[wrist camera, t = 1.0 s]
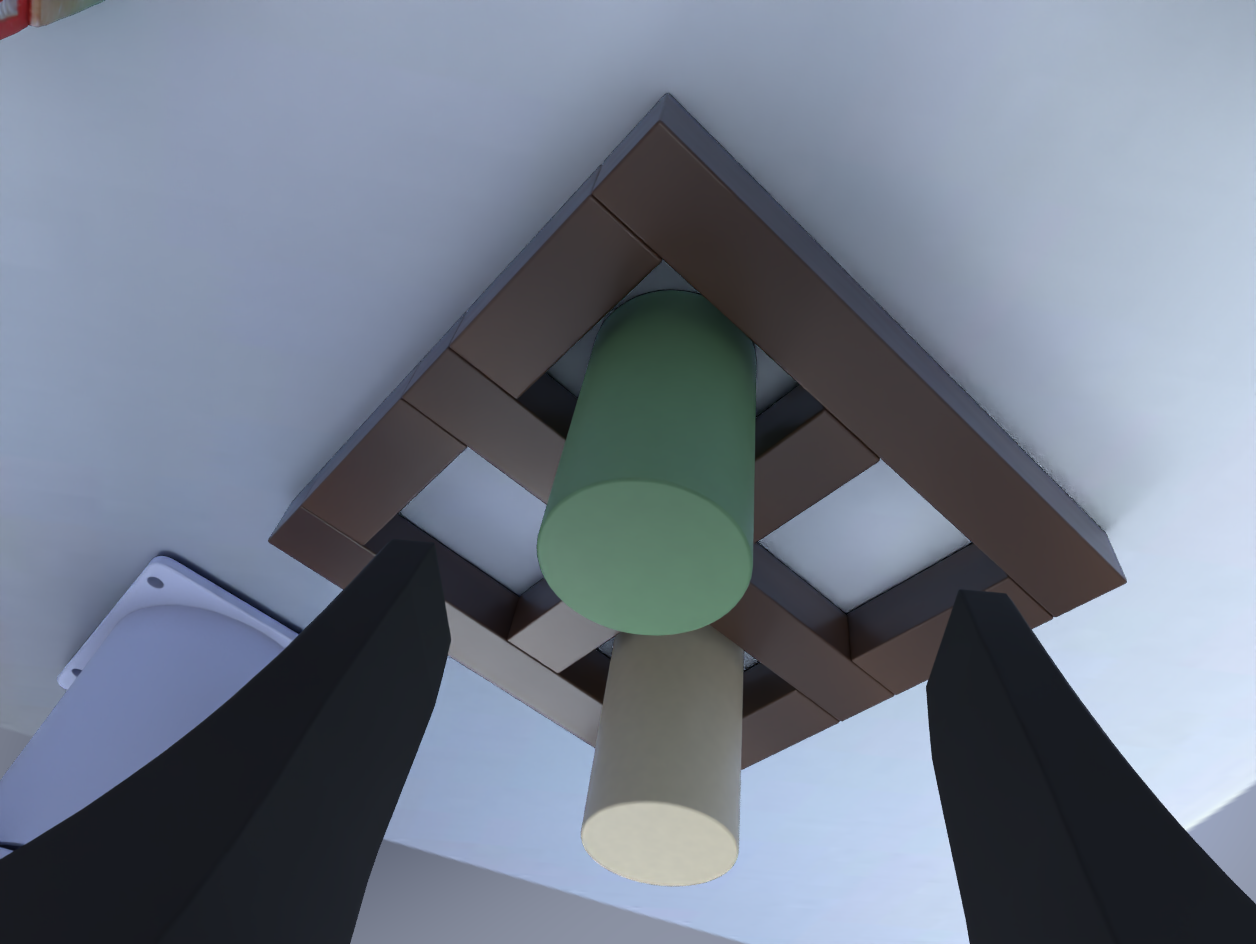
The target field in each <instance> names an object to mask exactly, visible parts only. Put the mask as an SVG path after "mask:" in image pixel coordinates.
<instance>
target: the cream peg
mask: <svg viewBox="0 0 1256 944" xmlns="http://www.w3.org/2000/svg"><path fill="white" fill-rule="evenodd" d="M743 669H744V650H743V649H742V648H740V647H739V646H737V645H736V644H735V643H733V642H732V641H731V640H729V639H728V638H727V637H725V636H724V635H723V634H721V633H720V632H719V631H717V630H716V629H714V628H713V627H712V626H710V625H707V626H704V627H702V628H699V629H696V630H692V631H689V632H685V633H679V634H674V635H661V636H656V635H639V634H631V633H626V632H621V633H619V634H617V635H616V636H615V637H614V643H613V649H612V654H611V660H610V666H609V672H608V678H607V683H606V689H605V695H604V701H603V707H602V712H601V718H600V724H599V730H598V736H597V741H596V747H595V753H594V759H593V765H592V770H591V776H590V782H589V788H588V794H587V799H586V805H585V811H584V817H583V823H582V828H581V839H582V843H583V846H584V848H585V850H586V851H587V853H588V854H589V855H590V857H591V858H592V859H593V860H594V861H596V862H597V863H598V864H599V865H601V866H602V867H604V868H605V869H607V870H609V871H611V872H613V873H615V874H617V875H619V876H622V877H624V878H627V879H630V880H633V881H637V882H641V883H646V884H651V885H659V886H690V885H696V884H701V883H705V882H708V881H711V880H714V879H716V878H718V877H720V876H722V875H724V874H725V873H727V872H728V871H729V870H730V869H731V868H732V867H733V865H734V864H735V862H736V860H737V858H738V853H739V824H740V785H741V746H742V708H743Z"/></svg>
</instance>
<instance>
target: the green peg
mask: <svg viewBox="0 0 1256 944" xmlns="http://www.w3.org/2000/svg"><path fill="white" fill-rule="evenodd" d="M755 418H756V354H755V349H754V346H753V343H752V340H751V339H750V338H749V337H747V336H746V335H745V334H744V333H743V332H742V331H741V330H740V329H739V328H738V327H736V326H735V325H734V324H733V323H732V322H731V321H730V320H729V319H728V318H727V317H726V316H724V315H723V314H722V313H721V312H720V311H719V310H718V309H717V308H716V307H715V306H714V305H712V304H711V303H710V302H709V301H708V300H707V299H706V298H705V297H704V296H702V295H699V294H696V293H691V292H686V291H676V290H666V291H657V292H651V293H647V294H644V295H641V296H638V297H636V298H634V299H631V300H629V301H628V302H626V303H624V304H623V305H621V306H620V307H618V308H617V309H616V310H615V311H614V312H612V313H611V315H610V316H609V317H608V318H607V319H606V320H605V322H604V323H603V325H602V326H601V328H600V330H599V332H598V334H597V336H596V339H595V342H594V346H593V349H592V352H591V356H590V359H589V363H588V366H587V370H586V373H585V376H584V380H583V383H582V387H581V390H580V393H579V397H578V400H577V404H576V407H575V411H574V414H573V417H572V421H571V424H570V428H569V431H568V434H567V438H566V441H565V445H564V448H563V451H562V455H561V458H560V462H559V465H558V469H557V472H556V475H555V479H554V482H553V486H552V489H551V492H550V496H549V499H548V503H547V506H546V510H545V513H544V516H543V520H542V523H541V527H540V530H539V533H538V538H537V557H538V561H539V565H540V568H541V571H542V573H543V576H544V578H545V580H546V581H547V583H548V585H549V586H550V588H551V589H552V590H553V591H554V593H555V594H556V595H557V596H558V597H559V598H560V599H561V600H562V601H563V602H564V603H565V604H566V605H567V606H569V607H570V608H571V609H573V610H574V611H575V612H577V613H578V614H580V615H582V616H583V617H585V618H587V619H589V620H591V621H593V622H595V623H597V624H600V625H602V626H605V627H607V628H610V629H614V630H617V631H621V632H626V633H631V634H639V635H656V636H661V635H674V634H679V633H685V632H689V631H692V630H696V629H699V628H702V627H704V626H707V625H709V624H711V623H713V622H715V621H716V620H718V619H720V618H721V617H723V616H724V615H725V614H727V613H728V612H729V611H730V610H731V609H732V608H733V607H734V606H736V604H737V603H738V602H739V601H740V599H741V598H742V597H743V595H744V593H745V591H746V590H747V588H748V586H749V583H750V580H751V576H752V569H753V533H754V476H755Z"/></svg>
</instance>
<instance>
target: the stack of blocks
mask: <svg viewBox="0 0 1256 944" xmlns="http://www.w3.org/2000/svg"><path fill="white" fill-rule="evenodd" d="M103 1H105V0H0V40H1V39H4V38H6V37H8V36H11V35H13V34H15V33H17V32H19V31H21V30H22V29H24V28H26V27H27V26H28V25H30V26H34V27H41V26H45V25H48V24H51V23H53V22H55V21H58V20H60V19H63V18H66V17H68V16H71V15H74V14H76V13H78V12H80V11H83V10H85V9H87V8H89V7H91V6H93V5H96V4H98V3H101V2H103Z"/></svg>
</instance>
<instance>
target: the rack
mask: <svg viewBox="0 0 1256 944" xmlns="http://www.w3.org/2000/svg"><path fill="white" fill-rule="evenodd" d="M662 259H663V260H664V261H665V262H667V263H668V264H669V265H670V266H671V267H672V268H673V269H674V270H675V271H676V272H678V273H679V274H680V275H681V276H682V277H683V278H684V279H685V280H686V281H687V282H688V283H690V284H691V285H692V286H693V287H694V288H695V289H696V290H697V291H698V292H699V293H700V294H702V295H703V296H704V297H705V298H706V299H707V300H708V301H709V302H710V303H711V304H712V305H714V306H715V307H716V308H717V309H718V310H719V311H720V312H721V313H722V314H723V315H724V316H726V317H727V318H728V319H729V320H730V321H731V322H732V323H733V324H734V325H735V326H736V327H738V328H739V329H740V330H741V331H742V332H743V333H744V334H745V335H746V336H747V337H749V338H750V339H751V340H752V341H753V342H754V343H755V344H756V345H757V346H758V347H759V348H761V349H762V350H763V351H764V352H765V353H766V354H767V355H768V356H769V357H770V358H771V359H773V360H774V361H775V362H776V363H777V364H778V365H779V366H780V367H781V368H782V369H783V370H785V371H786V372H787V373H788V374H789V375H790V376H791V377H792V378H793V379H794V380H795V381H797V382H798V383H799V384H800V385H799V386H797V387H796V388H795V389H793V390H792V391H791V392H789V393H788V394H787V395H786V396H784V397H783V398H782V399H780V400H779V401H778V402H776V403H775V404H774V405H772V406H771V407H770V408H768V409H767V410H766V411H764V412H763V413H762V414H760V415H759V416H758V417H756V418H755V476H754V533H753V569H752V576H751V580H750V583H749V586H748V588H747V590H746V591H745V593H744V595H743V597H742V598H741V599H740V601H739V602H738V603H737V604H736V606H734V607H733V608H732V609H731V610H730V611H729V612H728V613H727V614H725V615H724V616H723V617H721V618H720V619H718V620H716V621H715V622H713V623H711V624H709V625H710V626H712V627H713V628H714V629H716V630H717V631H719V632H720V633H721V634H723V635H724V636H725V637H727V638H728V639H729V640H731V641H732V642H733V643H735V644H736V645H737V646H739V647H740V648H742V649H743V650H744V651H746V652H747V653H748V654H750V655H751V656H752V657H754V658H755V659H756V660H758V661H759V662H761V663H760V664H758V665H756V666H754V667H753V668H751V669H749V670H747V671H745V672H744V673H743V708H742V746H741V770H743V769H745V768H747V767H749V766H751V765H753V764H755V763H757V762H759V761H761V760H763V759H765V758H767V757H769V756H771V755H773V754H776V753H778V752H780V751H782V750H784V749H786V748H788V747H790V746H792V745H794V744H796V743H798V742H800V741H802V740H804V739H806V738H808V737H811V736H813V735H815V734H817V733H819V732H821V731H823V730H825V729H827V728H829V727H831V726H833V725H835V724H837V723H839V721H844V720H846V719H848V718H850V717H852V716H854V715H856V714H858V713H860V712H862V711H864V710H866V709H868V708H871V707H873V706H875V705H877V704H879V703H881V702H883V701H885V700H887V699H889V698H891V697H893V696H894V695H897V694H899V693H902V692H904V691H906V690H908V689H910V688H912V687H914V686H916V685H918V684H920V683H922V682H924V681H926V680H928V679H929V676H930V673H931V670H932V668H933V665H934V662H935V659H936V656H937V653H938V650H939V647H940V644H941V641H942V638H943V635H944V632H945V629H946V626H947V623H948V620H949V617H950V614H951V611H952V608H953V605H954V602H955V599H956V596H957V593H958V590H959V589H964V590H975V591H986V592H998V593H1006V594H1007V595H1008V596H1009V597H1010V599H1011V600H1012V601H1013V603H1014V604H1015V606H1016V607H1017V609H1018V610H1019V612H1020V613H1021V615H1022V616H1023V618H1024V619H1025V621H1026V622H1027V624H1028V625H1029V627H1030V628H1031V629H1033V628H1035V627H1037V626H1040V625H1042V624H1044V623H1046V622H1048V621H1050V620H1052V619H1053V617H1058V616H1060V615H1062V614H1064V613H1066V612H1068V611H1070V610H1072V609H1074V608H1076V607H1078V606H1080V605H1082V604H1085V603H1087V602H1089V601H1091V600H1093V599H1095V598H1097V597H1099V596H1101V595H1103V594H1105V593H1107V592H1109V591H1111V590H1113V589H1115V588H1117V587H1120V586H1122V585H1124V584H1126V583H1127V580H1126V577H1125V575H1124V573H1123V571H1122V568H1121V566H1120V564H1119V561H1118V559H1117V557H1116V554H1115V552H1114V550H1113V548H1112V545H1111V543H1110V541H1109V538H1108V536H1107V534H1106V533H1105V532H1104V531H1103V530H1102V529H1101V528H1100V527H1099V526H1098V525H1097V524H1096V523H1095V522H1094V521H1093V520H1092V519H1091V518H1090V517H1089V516H1088V515H1087V514H1086V513H1085V512H1084V511H1083V510H1082V509H1081V508H1080V507H1079V506H1078V505H1077V504H1076V503H1075V502H1074V501H1073V500H1072V499H1071V498H1070V497H1069V496H1068V495H1067V494H1066V493H1065V492H1064V491H1063V490H1062V489H1061V488H1060V487H1059V486H1058V485H1057V484H1056V483H1055V482H1054V481H1053V480H1052V479H1051V478H1050V477H1049V476H1048V475H1047V474H1046V473H1045V472H1044V471H1043V470H1042V469H1041V468H1040V467H1039V466H1038V465H1037V464H1036V463H1035V462H1034V461H1033V460H1032V459H1031V458H1030V457H1029V456H1028V455H1027V454H1026V453H1025V452H1024V451H1023V450H1022V449H1021V448H1020V447H1019V446H1018V445H1017V444H1016V443H1015V442H1014V441H1013V440H1012V439H1011V438H1010V436H1009V435H1008V434H1007V433H1006V432H1005V431H1004V430H1003V429H1002V428H1001V427H1000V426H999V425H998V424H997V423H996V422H995V421H994V420H993V419H992V418H991V417H990V416H989V415H988V414H987V413H986V412H985V411H984V410H983V409H982V408H981V407H980V406H979V405H978V404H977V403H976V402H975V401H974V400H973V399H972V398H971V397H970V396H969V395H968V394H967V393H966V392H965V391H964V390H963V389H962V388H961V387H960V386H959V385H958V384H957V383H956V382H955V381H954V380H953V379H952V378H951V377H950V376H949V375H948V374H947V373H946V372H945V371H944V370H943V369H942V368H941V367H940V366H939V365H938V364H937V363H936V362H935V361H934V360H933V359H932V358H931V357H930V356H929V355H928V354H927V353H926V352H925V351H924V350H923V349H922V348H921V347H920V346H919V345H918V344H917V343H916V342H915V341H914V340H913V339H912V338H911V337H910V336H909V335H908V334H907V333H906V332H905V331H904V330H903V329H902V328H901V327H900V326H899V325H898V324H897V323H896V322H895V321H894V320H893V319H892V318H891V317H890V316H889V315H888V314H887V313H886V312H885V311H884V310H883V309H882V308H881V307H880V306H879V305H878V304H877V302H876V301H875V300H874V299H873V298H872V297H871V296H870V295H869V294H868V293H867V292H866V291H865V290H864V289H863V288H862V287H861V286H860V285H859V284H858V283H857V282H856V281H855V280H854V279H853V278H852V277H851V276H850V275H849V274H848V273H847V272H846V271H845V270H844V269H843V268H842V267H841V266H840V265H839V264H838V263H837V262H836V261H835V260H834V259H833V258H832V257H831V256H830V255H829V254H828V253H827V252H826V251H825V250H824V249H823V248H822V247H821V246H820V245H819V244H818V243H817V242H816V241H815V240H814V239H813V238H812V237H811V236H810V235H809V234H808V233H807V232H806V231H805V230H804V229H803V228H802V227H801V226H800V225H799V224H798V223H797V222H796V221H795V220H794V219H793V218H792V217H791V216H790V215H789V214H788V213H787V212H786V211H785V210H784V209H783V208H782V207H781V206H780V205H779V204H778V203H777V202H776V201H775V200H774V199H773V198H772V197H771V196H770V195H769V194H768V193H767V192H766V191H765V190H764V189H763V188H762V187H761V186H760V185H759V184H758V183H757V182H756V181H755V180H754V179H753V178H752V177H751V176H750V175H749V174H748V173H747V172H746V171H745V170H744V168H743V167H742V166H741V165H740V164H739V163H738V162H737V161H736V160H735V159H734V158H733V157H732V156H731V155H730V154H729V153H728V152H727V151H726V150H725V149H724V148H723V147H722V146H721V145H720V144H719V143H718V142H717V141H716V140H715V139H714V138H713V137H712V136H711V135H710V134H709V133H708V132H707V131H706V130H705V129H704V128H703V127H702V126H701V125H700V124H699V123H698V122H697V121H696V120H695V119H694V118H693V117H692V116H691V115H690V114H689V113H688V112H687V111H686V110H685V109H684V108H683V107H682V106H681V105H680V104H679V103H678V102H677V101H676V100H675V99H674V98H673V97H672V96H671V95H670V94H668V93H667V94H665V95H664V96H663V97H662V98H661V99H660V101H659V102H658V103H657V104H656V105H655V106H654V107H653V108H652V109H651V110H650V112H649V113H648V114H647V115H646V116H645V117H644V118H643V119H642V120H641V121H640V122H639V124H638V125H637V126H636V127H635V128H634V129H633V130H632V131H631V132H630V133H629V134H628V136H627V137H626V138H625V139H624V140H623V141H622V142H621V143H620V144H619V145H618V146H617V148H616V149H615V150H614V151H613V152H612V153H611V154H610V155H609V156H608V157H607V158H606V160H605V161H604V163H603V165H600V166H599V167H598V168H597V169H596V170H595V172H594V173H593V174H592V175H591V176H590V177H589V178H588V179H587V180H586V181H585V182H584V184H583V185H582V186H581V187H580V188H579V189H578V190H577V191H576V192H575V193H574V195H573V196H572V197H571V198H570V199H569V200H568V201H567V202H566V203H565V204H564V205H563V207H562V208H561V209H560V210H559V211H558V212H557V213H556V214H555V215H554V216H553V217H552V219H551V220H550V221H549V222H548V223H547V224H546V225H545V226H544V227H543V228H542V229H541V231H540V232H539V233H538V234H537V235H536V236H535V237H534V238H533V239H532V240H531V241H530V243H529V244H528V245H527V246H526V247H525V248H524V249H523V250H522V251H521V252H520V253H519V255H518V256H517V257H516V258H515V259H514V260H513V261H512V262H511V263H510V264H509V265H508V267H507V268H506V269H505V270H504V271H503V272H502V273H501V274H500V275H499V276H498V277H497V279H496V280H495V281H494V282H493V283H492V284H491V285H490V286H489V287H488V288H487V289H486V291H485V292H484V293H483V294H482V295H481V296H480V297H479V298H478V299H477V300H476V301H475V303H474V304H473V305H472V306H471V307H470V308H469V309H468V311H467V312H465V313H464V314H463V316H462V317H461V318H460V319H459V320H458V321H457V322H456V323H455V324H454V325H453V326H452V328H451V329H450V330H449V331H448V332H447V333H446V334H445V335H444V336H443V337H442V339H441V340H440V341H439V342H438V343H437V344H436V345H435V346H434V347H433V348H432V349H431V351H430V352H429V353H428V354H427V355H426V356H425V357H424V358H423V360H422V361H420V362H419V364H418V365H417V366H416V367H415V368H414V369H413V370H412V371H411V372H410V373H409V374H408V376H407V377H406V378H405V379H404V380H403V381H402V382H401V383H400V384H399V385H398V386H397V388H396V389H395V390H394V391H393V392H392V393H391V394H390V395H389V396H388V397H387V398H386V400H385V401H384V402H383V403H382V404H381V405H380V406H379V407H378V408H377V409H376V410H375V412H374V413H373V414H372V415H371V416H370V417H369V418H368V419H367V420H366V421H365V422H364V424H363V425H362V426H361V427H360V428H359V429H358V430H357V431H356V432H355V433H354V434H353V436H352V437H351V438H350V439H349V440H348V441H347V442H346V443H345V444H344V445H343V446H342V448H341V449H340V450H339V451H338V452H337V453H336V454H335V455H334V456H333V457H332V458H331V460H330V461H329V462H328V463H327V464H326V465H325V467H323V468H322V469H321V471H320V472H319V473H318V474H317V475H316V476H315V477H314V478H313V479H312V480H311V481H310V483H309V484H308V485H307V486H306V487H305V488H304V489H303V490H302V491H301V492H300V493H299V495H298V496H297V497H296V498H295V499H294V500H293V501H292V503H291V504H290V506H289V508H288V509H287V511H286V512H285V514H284V515H283V517H282V519H281V520H280V522H279V523H278V525H277V527H276V528H275V530H274V531H273V533H272V534H271V536H270V538H269V539H268V542H269V543H270V544H272V545H274V546H275V547H277V548H278V549H280V550H281V551H283V552H285V553H286V554H288V555H289V556H291V557H293V558H294V559H296V560H297V561H299V562H300V563H302V564H304V565H305V566H307V567H308V568H310V569H312V570H313V571H315V572H316V573H318V574H320V575H321V576H323V577H324V578H326V579H327V580H329V581H331V582H332V583H334V584H335V585H337V586H339V587H340V588H342V589H343V590H344V589H345V588H346V586H347V585H348V584H349V583H350V582H351V581H352V580H353V579H354V578H355V577H356V576H357V575H358V574H359V573H360V572H361V571H362V570H363V568H364V567H365V566H366V565H367V564H368V563H369V562H370V561H371V560H372V559H373V558H374V557H375V556H376V555H377V554H378V552H379V551H380V550H381V549H382V548H383V547H384V546H385V545H386V544H387V543H388V542H390V541H391V540H392V539H400V540H412V541H423V542H434V543H435V547H436V553H437V559H438V565H439V571H440V576H441V582H442V588H443V594H444V599H445V605H446V611H447V617H448V623H449V628H450V634H451V644H450V648H449V652H448V656H450V657H451V658H453V659H454V660H456V661H458V662H459V663H461V664H462V665H464V666H465V667H467V668H469V669H470V670H472V671H473V672H475V673H477V674H478V675H480V676H481V677H483V678H485V679H486V680H488V681H489V682H491V683H492V684H494V685H496V686H497V687H499V688H500V689H502V690H504V691H505V692H507V693H508V694H510V695H511V696H513V697H515V698H516V699H518V700H519V701H521V702H523V703H524V704H526V705H527V706H529V707H531V708H532V709H534V710H535V711H537V712H538V713H540V714H542V715H543V716H545V717H546V718H548V719H550V720H551V721H553V722H554V723H556V724H557V725H559V726H561V727H562V728H564V729H565V730H567V731H569V732H570V733H572V734H573V735H575V736H577V737H578V738H580V739H581V740H583V741H584V742H586V743H588V744H589V745H591V746H592V747H594V748H595V747H596V741H597V736H598V730H599V724H600V718H601V712H602V707H603V701H604V695H605V689H606V683H607V678H608V672H609V666H610V660H611V659H609V658H608V657H606V656H605V655H603V654H602V653H600V652H599V651H598V650H596V648H598V647H599V646H601V645H602V644H604V643H605V642H607V641H608V640H610V639H611V638H613V637H614V636H616V635H617V634H619V633H621V631H617V630H614V629H610V628H607V627H605V626H602V625H600V624H597V623H595V622H593V621H591V620H589V619H587V618H585V617H583V616H582V615H580V614H578V613H577V612H575V611H574V610H573V609H571V608H570V607H569V606H567V605H566V604H565V603H564V602H563V601H562V600H561V599H560V598H559V597H558V596H557V595H556V594H555V593H554V591H553V590H552V589H551V588H550V586H549V585H548V583H547V581H546V580H545V578H543V579H542V580H541V581H539V582H538V583H537V584H535V585H534V586H533V587H531V588H530V589H529V590H528V591H526V592H525V593H524V594H522V595H521V596H520V597H518V596H517V595H515V594H514V593H512V592H511V591H510V590H508V589H507V588H505V587H504V586H502V585H501V584H499V583H498V582H496V581H495V580H493V579H492V578H490V577H489V576H488V575H486V574H485V573H483V572H482V571H480V570H479V569H477V568H476V567H474V566H473V565H471V564H470V563H468V562H467V561H466V560H464V559H463V558H461V557H460V556H458V555H457V554H455V553H454V552H452V551H451V550H449V549H448V548H446V547H445V546H444V545H442V544H441V543H439V542H438V541H436V540H435V539H433V538H432V537H430V536H429V535H427V534H426V533H424V532H423V531H422V530H420V529H419V528H417V527H416V526H414V525H413V524H411V523H410V522H408V521H407V520H405V519H404V518H402V517H401V516H400V515H398V514H397V513H399V512H400V511H401V510H402V509H403V508H404V507H405V506H406V505H407V504H408V503H409V502H410V501H411V500H412V499H413V498H414V497H415V496H416V495H417V494H418V493H420V492H421V491H422V490H423V489H424V488H425V487H426V486H427V485H428V484H429V483H430V482H431V481H432V480H433V479H434V478H435V477H436V476H437V475H438V474H440V473H441V472H442V471H443V470H444V469H445V468H446V467H447V466H448V465H449V464H450V463H451V462H452V461H453V460H454V459H455V458H456V457H457V456H458V455H459V454H461V453H462V452H463V451H464V450H465V449H466V448H467V446H468V447H469V448H470V449H472V450H473V451H475V452H476V453H477V454H479V455H480V456H481V457H483V458H484V459H485V460H487V461H488V462H489V463H491V464H492V465H494V466H495V467H496V468H498V469H499V470H500V471H502V472H503V473H504V474H506V475H507V476H508V477H510V478H511V479H513V480H514V481H515V482H517V483H518V484H519V485H521V486H522V487H523V488H525V489H526V490H527V491H529V492H530V493H531V494H533V495H534V496H536V497H537V498H538V499H540V500H541V501H542V502H544V503H545V504H546V505H547V503H548V499H549V496H550V492H551V489H552V486H553V482H554V479H555V475H556V472H557V469H558V465H559V462H560V458H561V455H562V451H563V448H564V445H565V441H566V438H567V434H568V431H569V428H570V424H571V421H572V417H573V414H574V411H575V407H576V404H577V400H578V399H577V398H576V397H575V396H574V395H572V394H571V393H570V392H569V391H567V390H566V389H565V388H564V387H562V386H561V385H560V384H559V383H557V382H556V381H555V380H554V379H552V378H551V377H550V376H549V375H547V374H546V373H545V372H546V371H547V370H548V369H549V368H551V367H552V366H553V365H554V364H555V363H556V362H557V361H558V360H559V359H560V358H561V357H562V356H563V355H564V354H565V353H566V352H567V351H568V350H569V349H570V348H572V347H573V346H574V345H575V344H576V343H577V342H578V341H579V340H580V339H581V338H582V337H583V336H584V335H585V334H586V333H587V332H588V331H589V330H590V329H591V328H593V327H594V326H595V325H596V324H597V323H598V322H599V321H600V320H601V319H602V318H603V317H604V316H605V315H606V314H607V313H608V312H609V311H610V310H611V309H612V308H614V307H615V306H616V305H617V304H618V303H619V302H620V301H621V300H622V299H623V298H624V297H625V296H626V295H627V294H628V293H629V292H630V291H631V290H632V289H634V288H635V287H636V286H637V285H638V284H639V283H640V282H641V281H642V280H643V279H644V278H645V277H646V276H647V275H648V274H649V273H650V272H651V271H652V270H653V269H655V268H656V267H657V266H658V265H659V264H660V263H661V261H662ZM880 458H881V459H882V460H883V461H884V462H885V463H886V464H887V465H888V466H889V467H891V468H892V469H893V470H894V471H895V472H896V473H897V474H898V475H899V476H900V477H901V478H903V479H904V480H905V481H906V482H907V483H908V484H909V485H910V486H911V487H912V488H913V489H915V490H916V491H917V492H918V493H919V494H920V495H921V496H922V497H923V498H924V499H925V500H927V501H928V502H929V503H930V504H931V505H932V506H933V507H934V508H935V509H936V510H937V511H939V512H940V513H941V514H942V515H943V516H944V517H945V518H946V519H947V520H948V521H950V522H951V523H952V524H953V525H954V526H955V527H956V528H957V529H958V530H959V531H960V532H962V533H963V534H964V535H965V536H966V537H967V538H968V539H969V540H970V541H971V542H972V544H971V545H969V546H967V547H965V548H964V549H962V550H960V551H958V552H956V553H955V554H953V555H951V556H949V557H948V558H946V559H944V560H942V561H940V562H939V563H937V564H935V565H933V566H932V567H930V568H928V569H926V570H924V571H923V572H921V573H919V574H917V575H916V576H914V577H912V578H910V579H909V580H907V581H905V582H903V583H901V584H900V585H898V586H896V587H894V588H893V589H891V590H889V591H887V592H885V593H884V594H882V595H880V596H878V597H877V598H875V599H873V600H871V601H869V602H868V603H866V604H864V605H862V606H861V607H859V608H857V609H855V610H853V611H852V612H850V613H848V615H846V614H845V613H844V612H842V611H841V610H840V609H839V608H837V607H836V606H835V605H834V604H832V603H831V602H830V601H829V600H827V599H826V598H825V597H824V596H822V595H821V594H820V593H819V592H817V591H816V590H815V589H814V588H812V587H811V586H810V585H809V584H807V583H806V582H805V581H804V580H802V579H801V578H800V577H799V576H797V575H796V574H795V573H794V572H793V571H791V570H790V569H789V568H788V567H786V566H785V565H784V564H783V563H781V562H780V561H779V560H778V559H776V558H775V557H774V556H773V555H771V554H770V553H769V552H768V551H766V550H765V549H764V548H763V547H761V546H760V545H759V544H758V543H756V542H758V541H759V540H761V539H762V538H764V537H765V536H767V535H768V534H770V533H771V532H773V531H774V530H776V529H777V528H779V527H780V526H782V525H783V524H785V523H786V522H788V521H789V520H791V519H792V518H794V517H795V516H797V515H798V514H800V513H801V512H803V511H805V510H806V509H808V508H809V507H811V506H812V505H814V504H815V503H817V502H818V501H820V500H821V499H823V498H824V497H826V496H827V495H829V494H830V493H832V492H833V491H835V490H836V489H838V488H839V487H841V486H842V485H844V484H845V483H847V482H848V481H850V480H851V479H853V478H855V477H856V476H858V475H859V474H861V473H862V472H864V471H865V470H867V469H868V468H870V467H871V466H873V465H874V464H876V463H877V462H878V461H879V460H880Z"/></svg>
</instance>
